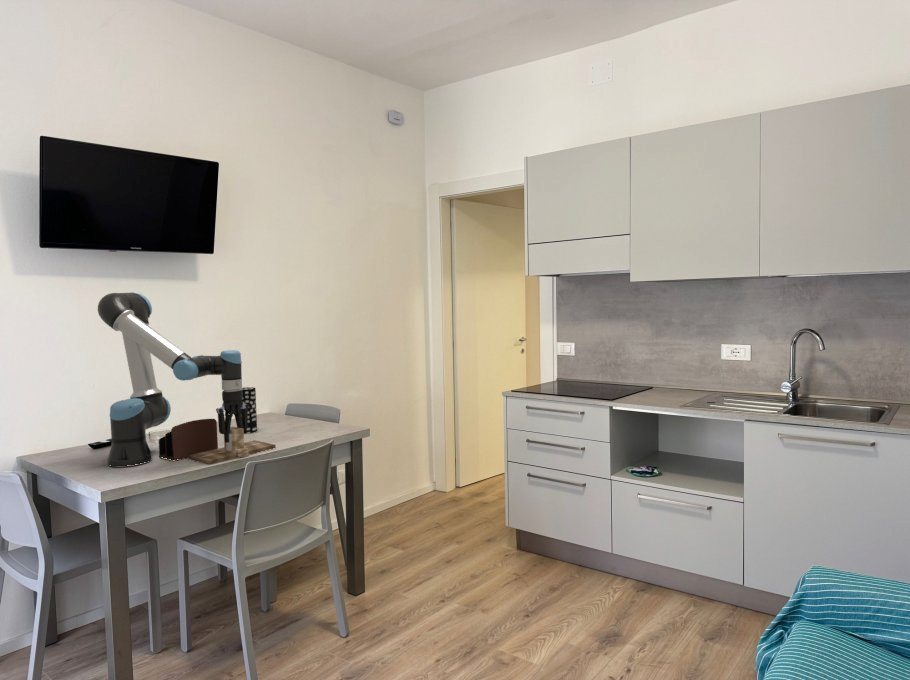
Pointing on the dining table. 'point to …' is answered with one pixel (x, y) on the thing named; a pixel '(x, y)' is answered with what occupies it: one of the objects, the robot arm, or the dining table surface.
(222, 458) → the board
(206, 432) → the letter holder
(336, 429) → the dining table surface
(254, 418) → the white-spotted black cylinder
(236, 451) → the gauge
